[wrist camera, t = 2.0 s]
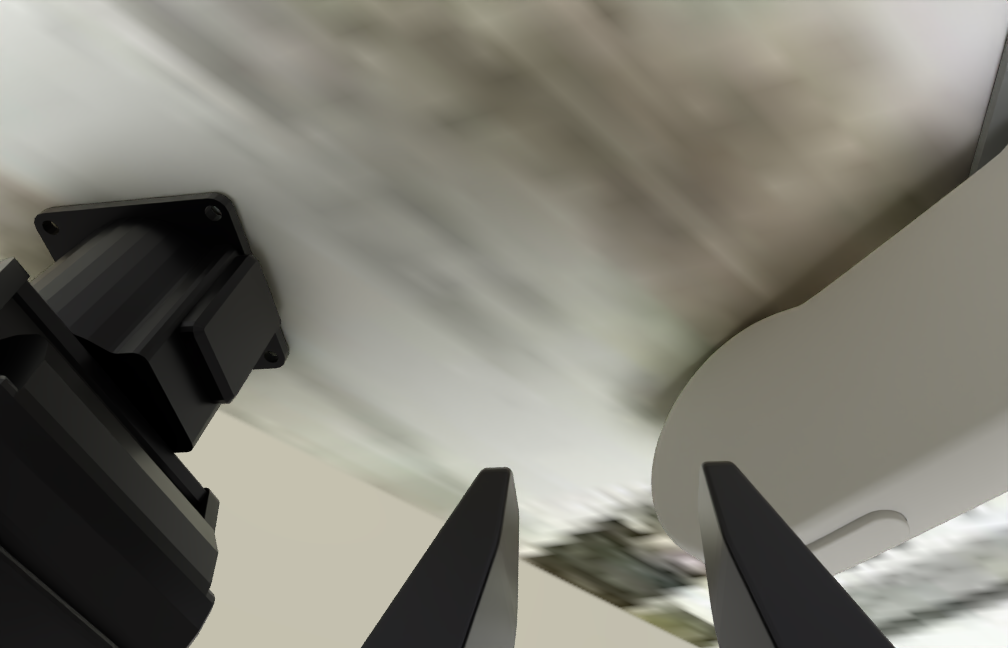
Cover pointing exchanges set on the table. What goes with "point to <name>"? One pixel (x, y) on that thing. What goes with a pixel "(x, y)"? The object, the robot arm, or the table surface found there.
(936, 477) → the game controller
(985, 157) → the mat
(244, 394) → the table surface
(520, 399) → the table surface
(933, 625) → the table surface
